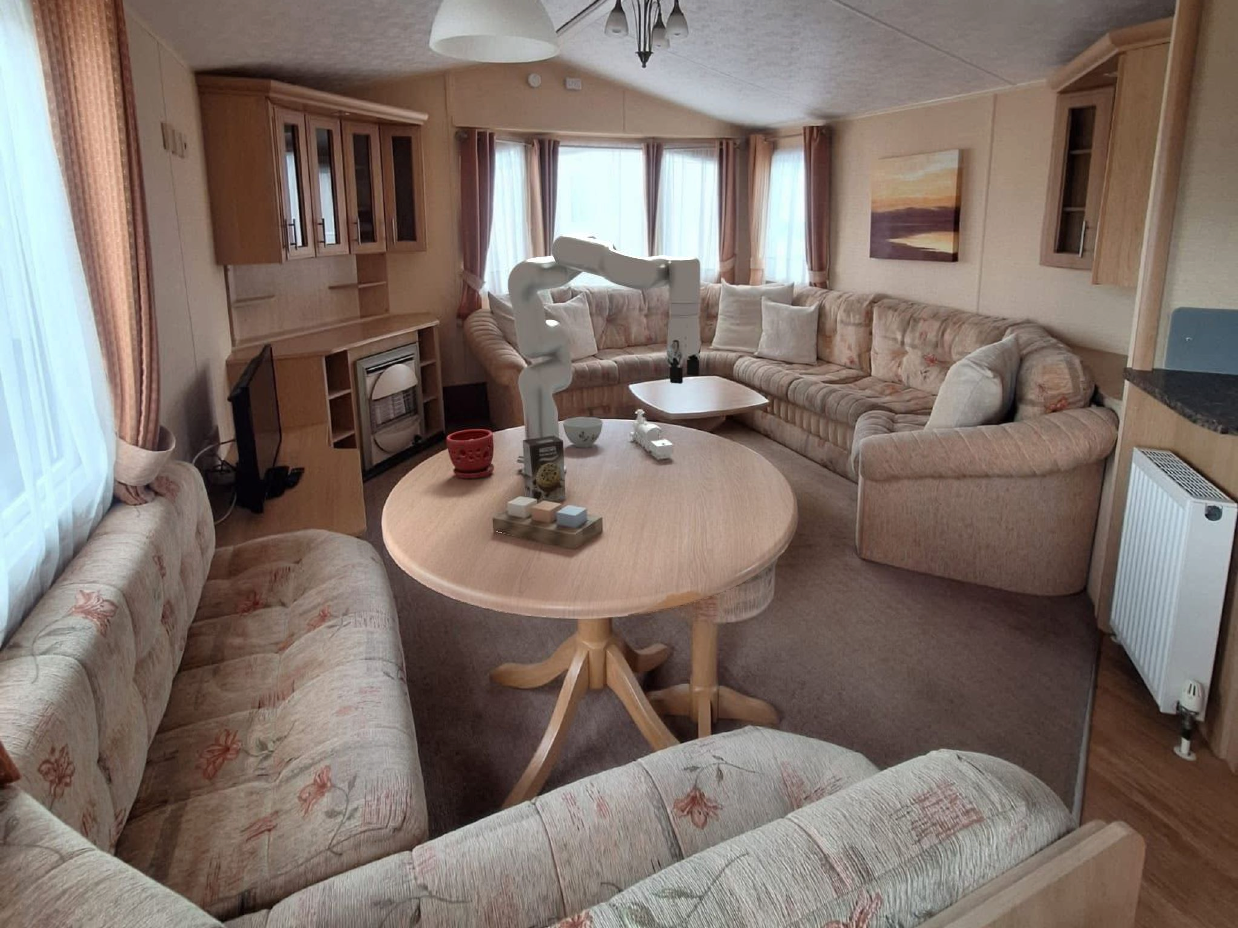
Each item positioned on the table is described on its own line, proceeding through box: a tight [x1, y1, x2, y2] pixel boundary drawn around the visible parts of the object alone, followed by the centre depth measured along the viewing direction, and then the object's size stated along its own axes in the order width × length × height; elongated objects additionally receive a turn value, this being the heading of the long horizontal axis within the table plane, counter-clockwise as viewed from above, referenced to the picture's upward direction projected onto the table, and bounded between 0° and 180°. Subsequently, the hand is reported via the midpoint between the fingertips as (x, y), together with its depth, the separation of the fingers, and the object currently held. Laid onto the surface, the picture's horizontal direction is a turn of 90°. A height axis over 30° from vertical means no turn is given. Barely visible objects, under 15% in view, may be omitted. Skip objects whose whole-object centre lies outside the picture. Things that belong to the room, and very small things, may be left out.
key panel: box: [491, 509, 604, 550], centre depth 191 cm, size 23×12×4 cm, turn 60°
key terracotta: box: [531, 501, 563, 523], centre depth 190 cm, size 5×5×4 cm
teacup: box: [562, 416, 604, 448], centre depth 259 cm, size 15×12×8 cm
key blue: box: [556, 504, 588, 528], centre depth 187 cm, size 5×5×4 cm
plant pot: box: [445, 428, 495, 479], centre depth 232 cm, size 13×13×12 cm
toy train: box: [629, 408, 674, 461], centre depth 253 cm, size 6×30×10 cm, turn 17°
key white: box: [506, 495, 537, 518], centre depth 193 cm, size 5×5×4 cm
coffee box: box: [522, 436, 567, 504], centre depth 210 cm, size 9×6×16 cm
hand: (684, 379), depth 202 cm, fingers open, 9 cm apart
